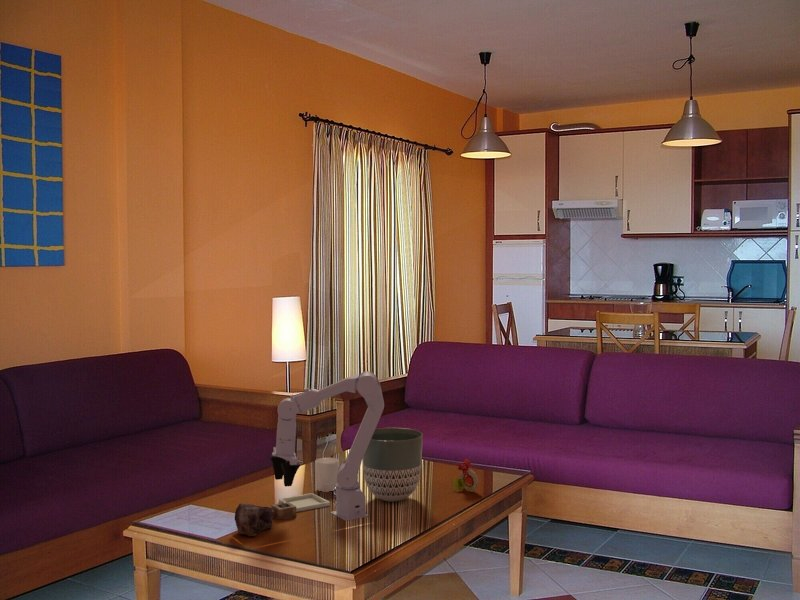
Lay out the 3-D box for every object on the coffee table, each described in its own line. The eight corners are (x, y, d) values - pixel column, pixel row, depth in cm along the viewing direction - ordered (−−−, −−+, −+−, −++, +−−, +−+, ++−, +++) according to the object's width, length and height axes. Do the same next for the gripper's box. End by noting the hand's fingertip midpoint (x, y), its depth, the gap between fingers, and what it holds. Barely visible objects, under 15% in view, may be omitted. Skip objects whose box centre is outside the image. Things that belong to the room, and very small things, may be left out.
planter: (351, 495, 275) (351, 431, 274) (405, 487, 284) (404, 425, 283) (378, 512, 258) (377, 443, 256) (434, 503, 267) (433, 436, 265)
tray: (330, 506, 263) (330, 501, 263) (295, 513, 257) (295, 508, 257) (312, 497, 273) (312, 493, 273) (278, 503, 267) (278, 499, 267)
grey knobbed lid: (298, 517, 253) (298, 503, 252) (278, 521, 249) (278, 507, 249) (288, 512, 258) (288, 498, 258) (269, 515, 254) (269, 502, 254)
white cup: (310, 491, 281) (310, 461, 280) (323, 485, 288) (323, 456, 287) (330, 494, 277) (330, 464, 277) (343, 488, 284) (343, 459, 284)
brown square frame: (296, 516, 253) (296, 506, 252) (275, 520, 249) (275, 510, 249) (288, 511, 257) (288, 501, 257) (267, 515, 254) (267, 505, 253)
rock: (276, 535, 241) (250, 527, 247) (279, 505, 241) (254, 498, 247) (247, 540, 231) (221, 532, 237) (251, 509, 232) (225, 502, 237)
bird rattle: (477, 496, 282) (457, 481, 286) (489, 468, 278) (468, 454, 283) (467, 500, 277) (447, 485, 282) (478, 472, 273) (457, 457, 278)
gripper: (265, 433, 257) (262, 477, 258) (282, 444, 245) (279, 490, 245) (286, 432, 261) (283, 475, 262) (304, 443, 248) (301, 488, 249)
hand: (283, 482), depth 254 cm, fingers open, 7 cm apart
